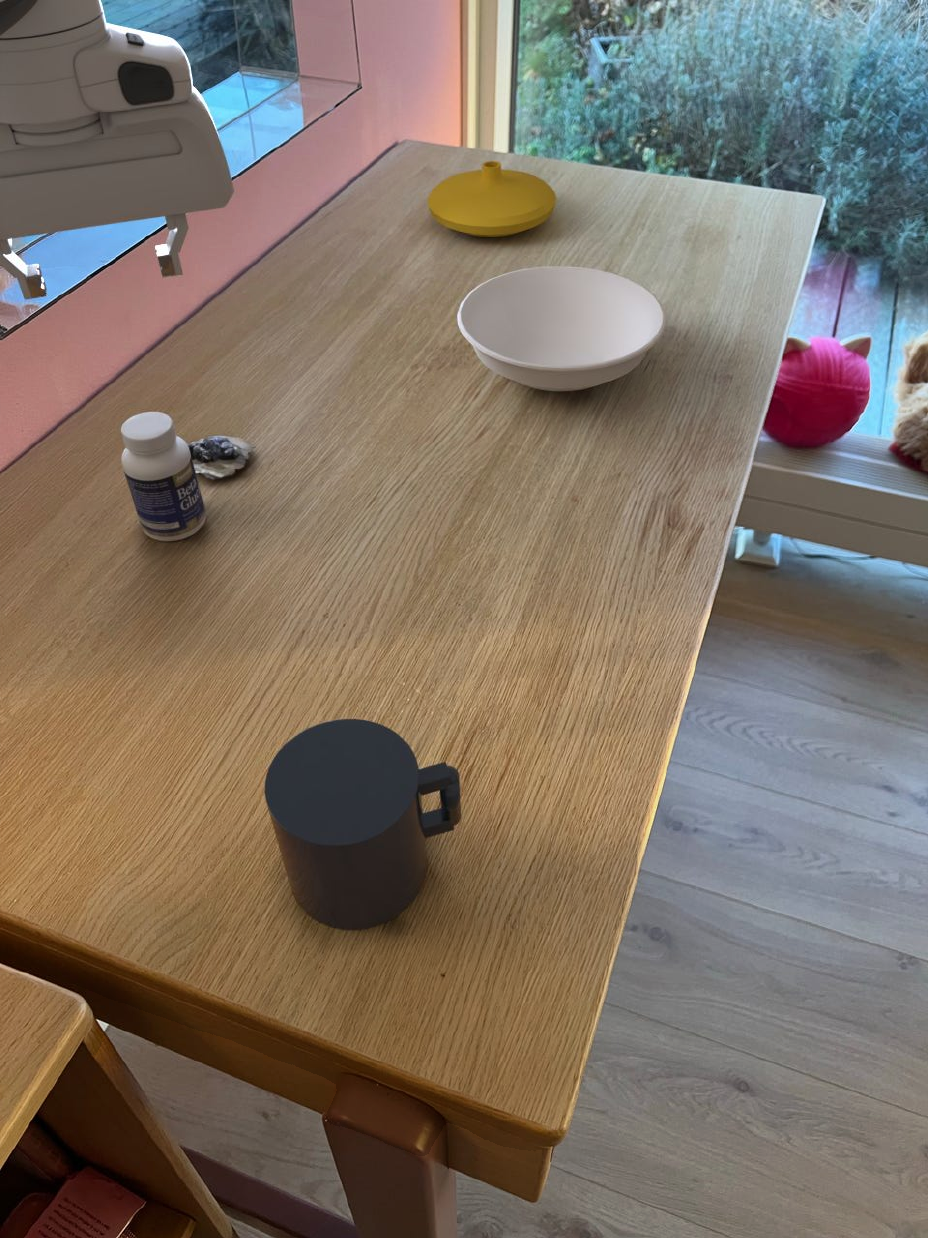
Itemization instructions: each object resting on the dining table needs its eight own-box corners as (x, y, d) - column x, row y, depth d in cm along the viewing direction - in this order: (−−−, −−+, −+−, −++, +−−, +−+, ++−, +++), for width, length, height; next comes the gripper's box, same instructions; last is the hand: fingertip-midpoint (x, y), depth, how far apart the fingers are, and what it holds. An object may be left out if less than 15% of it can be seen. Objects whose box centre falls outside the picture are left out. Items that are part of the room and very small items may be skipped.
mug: (304, 948, 57) (279, 865, 51) (277, 829, 63) (252, 740, 56) (483, 894, 59) (481, 807, 53) (442, 783, 65) (435, 692, 59)
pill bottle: (200, 543, 82) (173, 445, 76) (135, 544, 83) (102, 446, 76) (213, 502, 86) (187, 405, 79) (151, 503, 86) (120, 406, 80)
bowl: (558, 455, 90) (561, 393, 85) (418, 369, 101) (414, 311, 96) (701, 373, 99) (710, 314, 94) (558, 303, 109) (560, 246, 105)
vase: (571, 242, 120) (574, 182, 115) (442, 258, 118) (439, 198, 113) (536, 190, 131) (538, 134, 126) (418, 204, 129) (414, 147, 124)
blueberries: (238, 487, 88) (234, 469, 86) (153, 477, 89) (148, 460, 88) (264, 442, 92) (261, 425, 91) (183, 434, 94) (178, 417, 92)
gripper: (-145, 109, 57) (-52, 329, 67) (213, 66, 61) (252, 280, 71) (-134, 76, 61) (-48, 287, 71) (201, 38, 66) (239, 243, 75)
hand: (105, 283), depth 71 cm, fingers open, 8 cm apart
